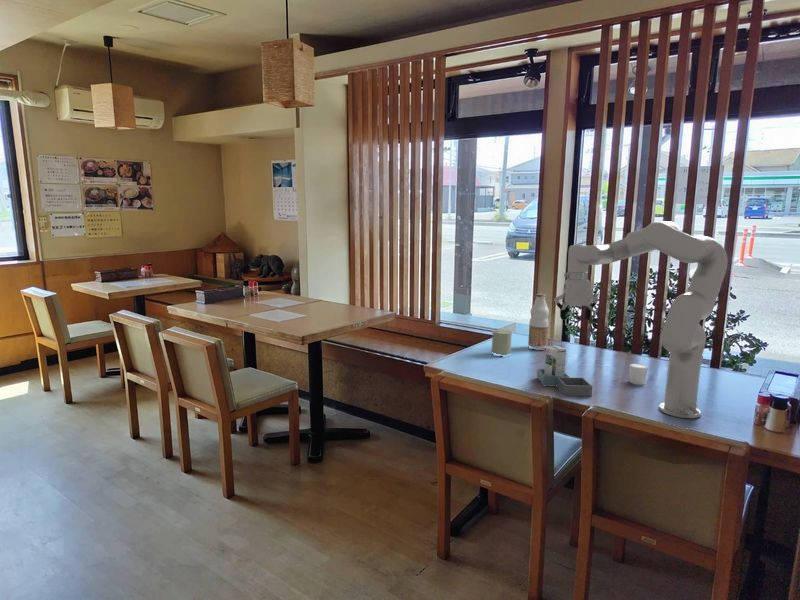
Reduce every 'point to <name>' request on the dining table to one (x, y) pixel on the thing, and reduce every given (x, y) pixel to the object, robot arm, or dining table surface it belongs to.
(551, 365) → the syrup box
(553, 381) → the slate bin
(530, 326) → the fruit juice
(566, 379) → the charcoal bin
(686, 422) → the dining table surface
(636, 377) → the white cup
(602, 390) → the dining table surface
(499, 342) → the can
